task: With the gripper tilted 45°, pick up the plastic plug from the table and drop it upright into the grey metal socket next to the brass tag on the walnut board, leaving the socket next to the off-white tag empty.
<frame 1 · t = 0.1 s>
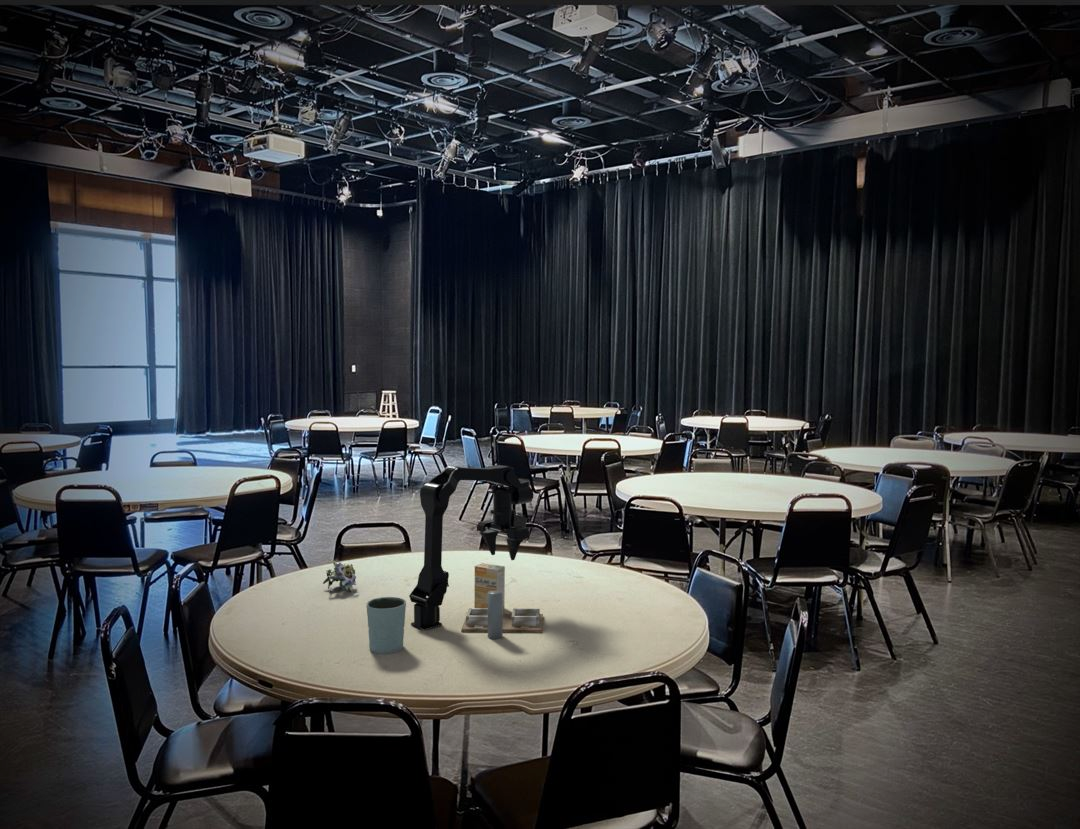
hand: (502, 557, 241), 15 cm above the table, tool pointing down, fingers open, 9 cm apart
supplement box: (489, 609, 238), on the table
socket board: (503, 624, 223), on the table
drinking glass: (386, 648, 204), on the table
passion flower: (339, 591, 258), on the table
plug: (495, 636, 213), on the table
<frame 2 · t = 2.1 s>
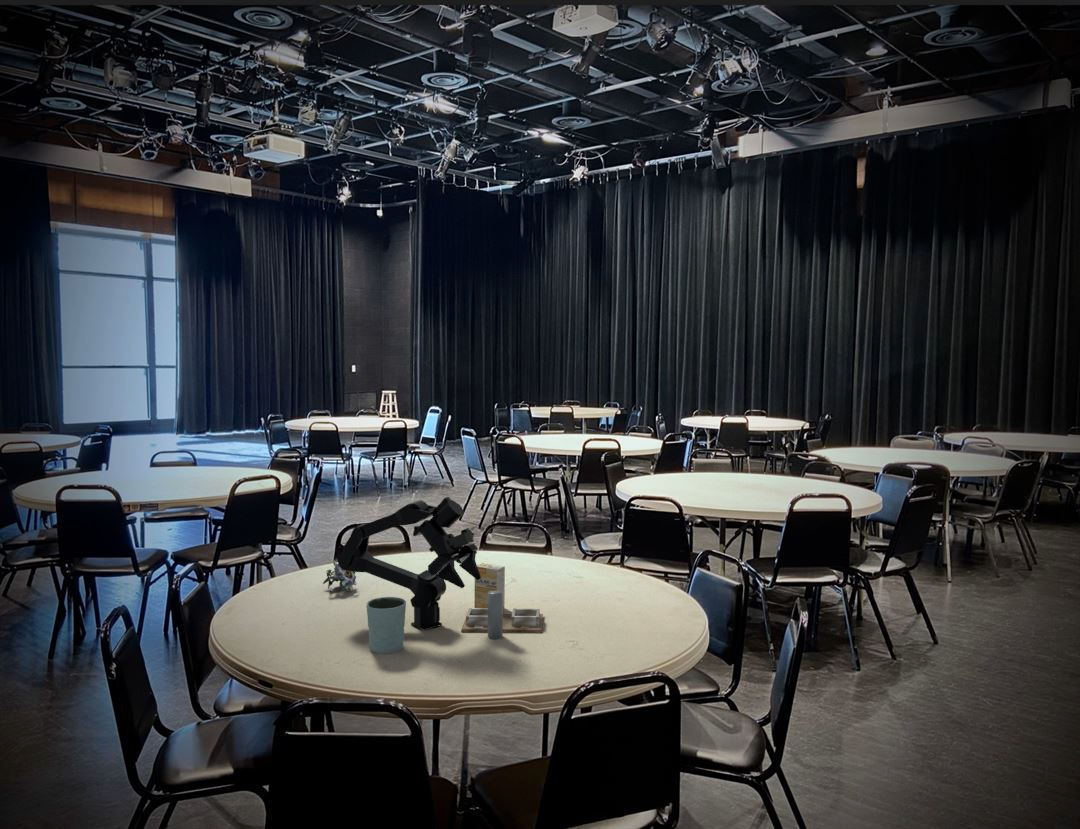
hand: (471, 583, 216), 14 cm above the table, tool tilted 45°, fingers open, 9 cm apart
nothing on the table moved.
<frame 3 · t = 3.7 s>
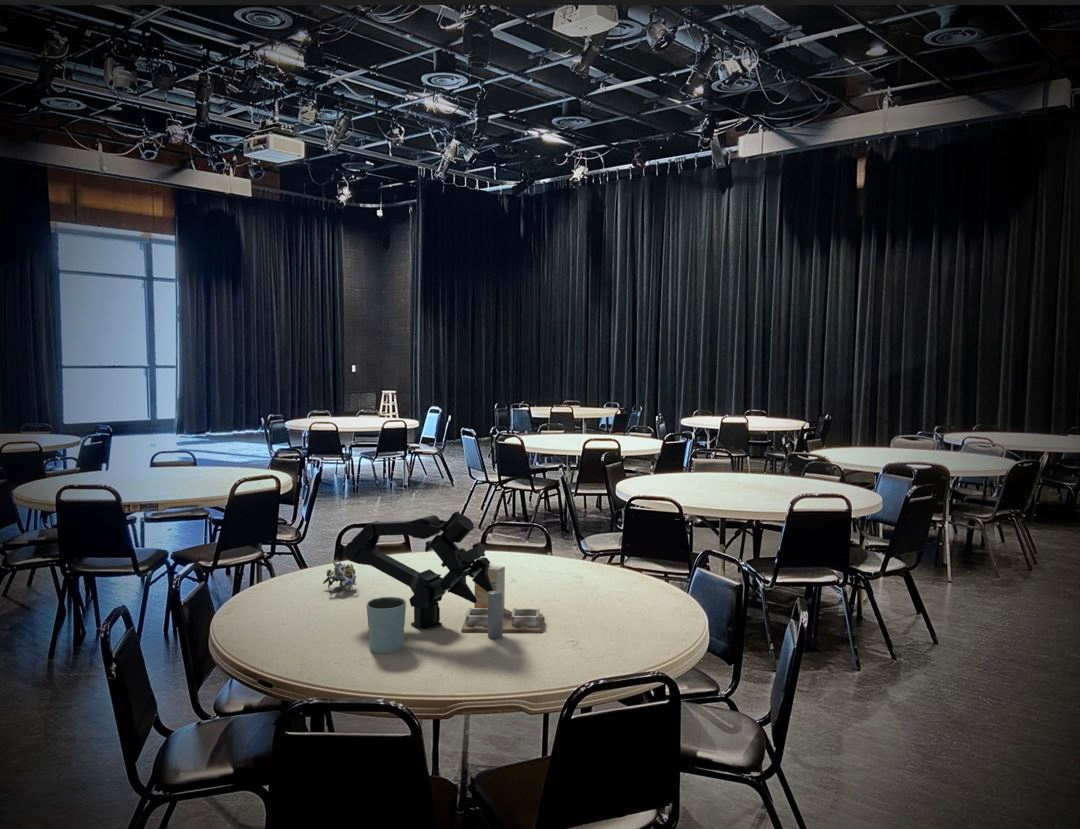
hand: (484, 597, 213), 10 cm above the table, tool tilted 45°, fingers open, 9 cm apart
nothing on the table moved.
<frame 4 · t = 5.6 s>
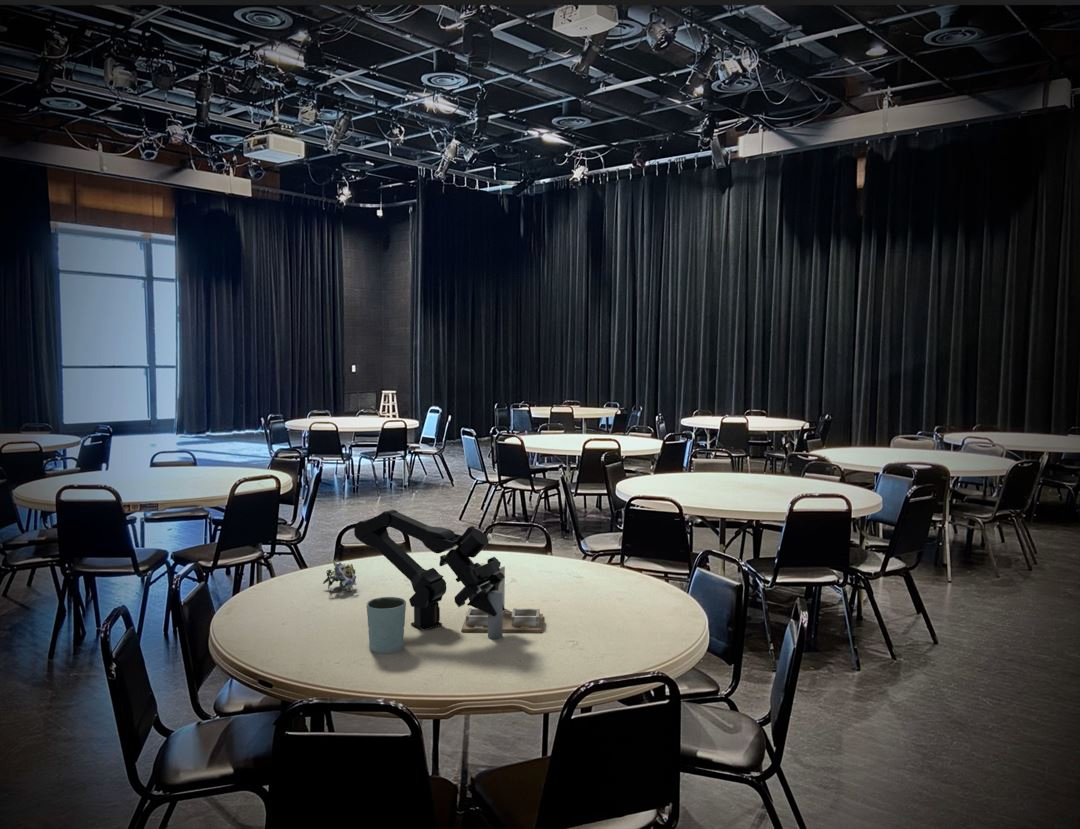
hand: (499, 613, 212), 7 cm above the table, tool tilted 45°, fingers closed on plug, 4 cm apart
plug: (495, 636, 213), on the table, touching gripper
everything else where it was.
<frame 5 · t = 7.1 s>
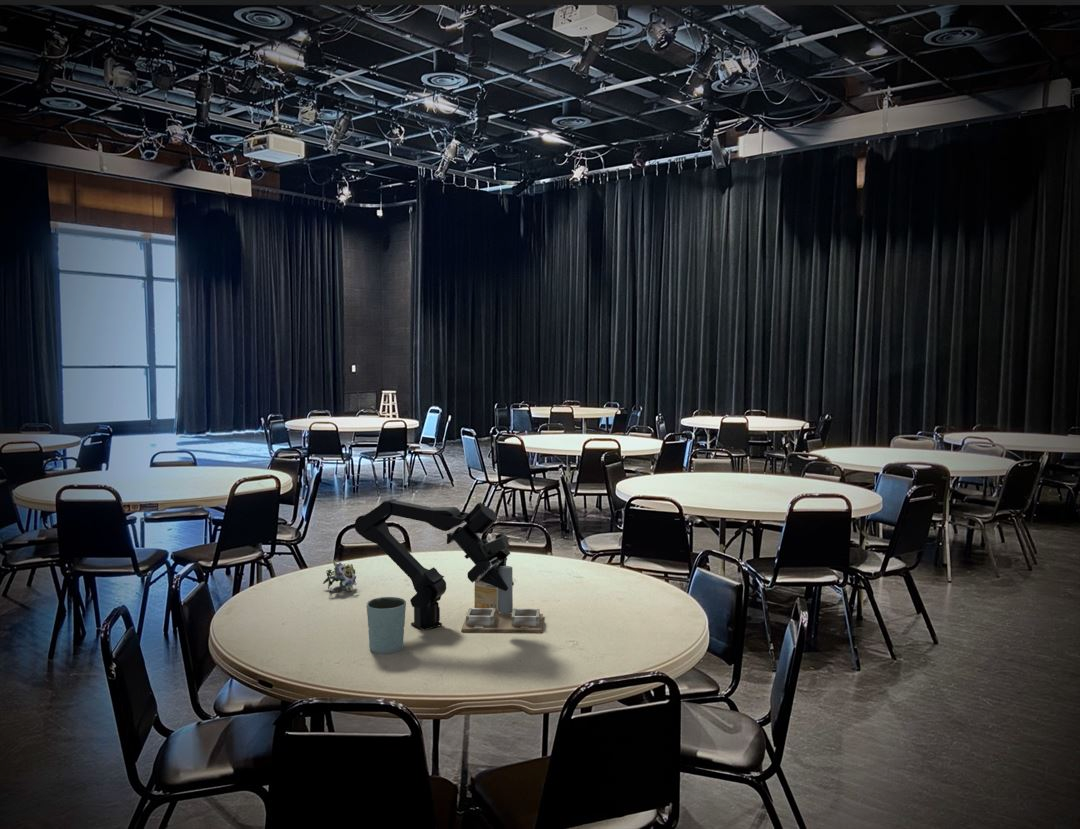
hand: (510, 587, 214), 13 cm above the table, tool tilted 45°, fingers closed on plug, 4 cm apart
plug: (505, 611, 214), point 6 cm above the table, touching gripper
everything else where it was.
when the fingers open (9 cm above the table, at t = 9.1 s): plug drops 1 cm, resting on socket board.
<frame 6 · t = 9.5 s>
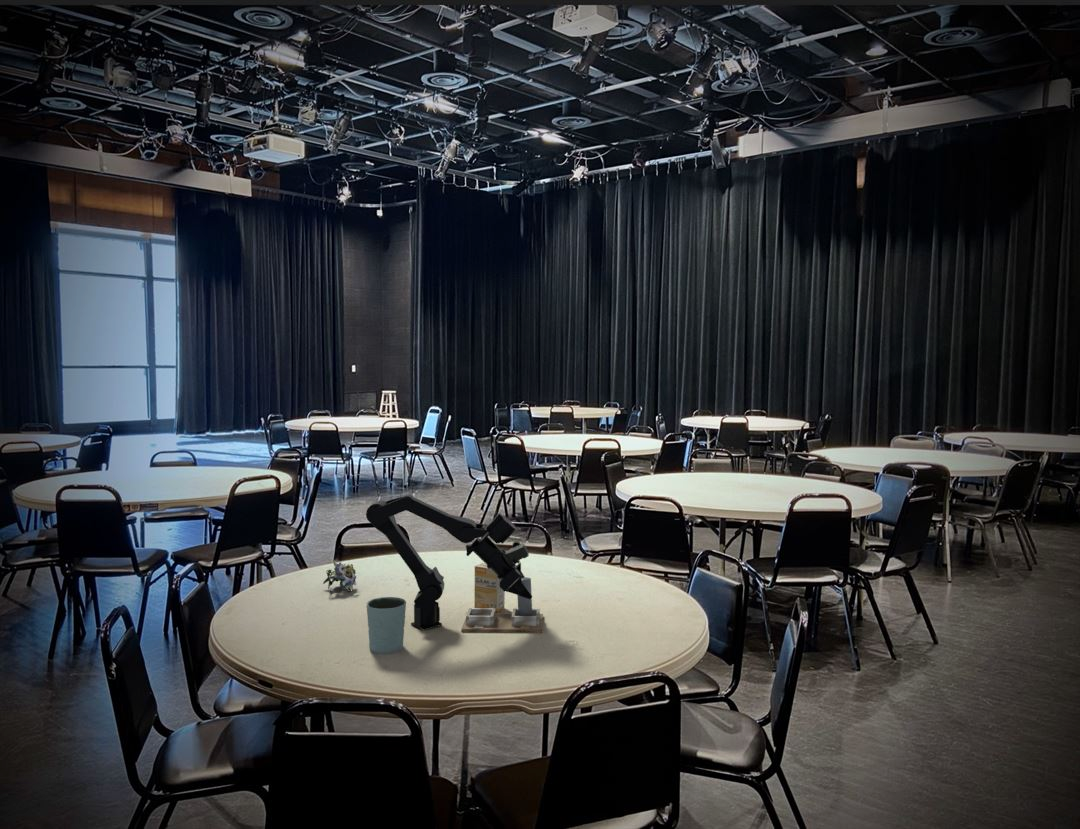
hand: (530, 593, 222), 9 cm above the table, tool tilted 45°, fingers open, 9 cm apart
plug: (525, 621, 223), point 1 cm above the table, touching socket board
everything else where it was.
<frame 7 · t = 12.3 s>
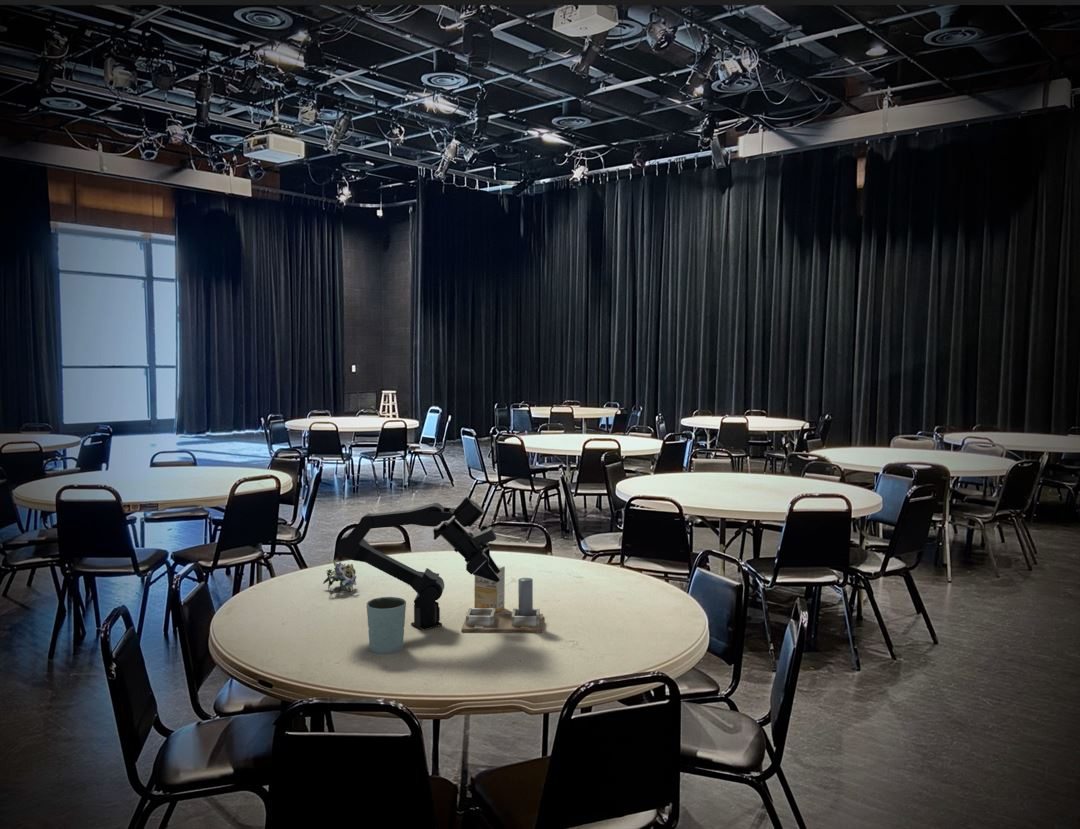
hand: (498, 576, 222), 14 cm above the table, tool tilted 45°, fingers open, 9 cm apart
nothing on the table moved.
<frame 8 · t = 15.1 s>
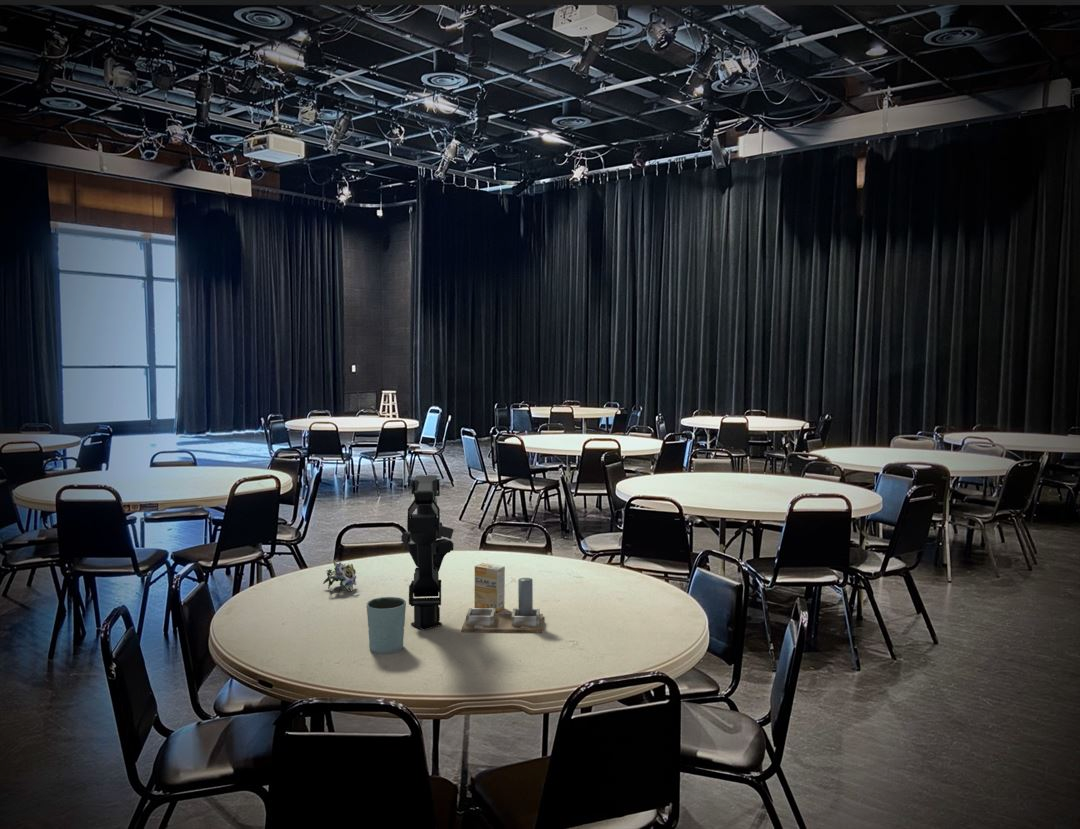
hand: (427, 569, 232), 13 cm above the table, tool pointing down, fingers open, 9 cm apart
nothing on the table moved.
at the end: plug 0.0 cm from the target spot on the socket board, point 0.8 cm above the socket board's base; plug tilted 1°; the gripper is holding nothing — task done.
